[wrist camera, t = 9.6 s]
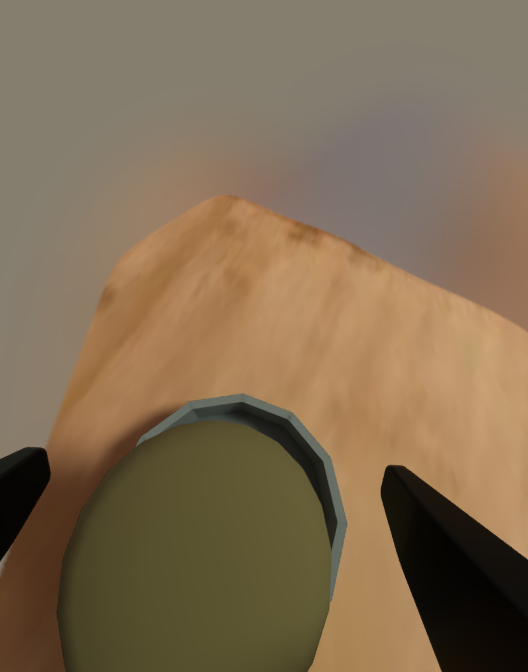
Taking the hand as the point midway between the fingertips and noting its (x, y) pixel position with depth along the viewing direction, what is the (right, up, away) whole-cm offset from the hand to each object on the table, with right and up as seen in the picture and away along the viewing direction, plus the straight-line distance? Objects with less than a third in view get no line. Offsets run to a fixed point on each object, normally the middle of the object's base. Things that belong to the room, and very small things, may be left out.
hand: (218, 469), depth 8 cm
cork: (0, -5, +7) cm, 9 cm away
